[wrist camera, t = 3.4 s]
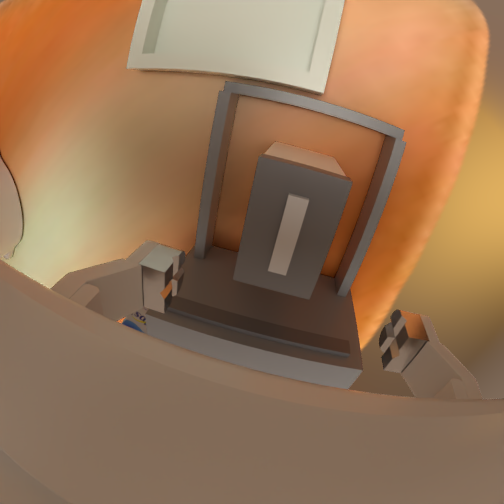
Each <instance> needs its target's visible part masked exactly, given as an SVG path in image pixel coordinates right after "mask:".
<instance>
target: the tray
mask: <svg viewBox="0 0 504 504" xmlns="http://www.w3.org/2000/svg"><path fill="white" fill-rule="evenodd" d="M344 1H345V0H142V4H141V7H140V11H139V14H138V18H137V22H136V26H135V30H134V34H133V38H132V42H131V47H130V52H129V57H128V62H127V67H126V69H133V70H141V71H176V72H192V73H204V74H213V75H222V76H230V77H237V78H243V79H250V80H255V81H261V82H266V83H271V84H276V85H281V86H286V87H290V88H294V89H298V90H303V91H306V92H310V93H314V94H318V95H322V94H323V93H324V90H325V86H326V82H327V77H328V73H329V69H330V65H331V60H332V56H333V52H334V47H335V43H336V38H337V34H338V29H339V25H340V20H341V15H342V11H343V6H344Z"/></svg>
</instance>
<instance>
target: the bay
mask: <svg viewBox="0 0 504 504" xmlns="http://www.w3.org/2000/svg"><path fill="white" fill-rule="evenodd" d="M239 94H240V95H246V96H251V97H257V98H262V99H267V100H271V101H276V102H281V103H285V104H289V105H293V106H297V107H301V108H305V109H309V110H313V111H316V112H320V113H323V114H327V115H330V116H334V117H337V118H340V119H343V120H346V121H349V122H352V123H355V124H358V125H361V126H364V127H367V128H370V129H372V130H375V131H378V132H380V133H383V134H386V136H385V140H384V143H383V147H382V150H381V153H380V157H379V160H378V163H377V166H376V169H375V172H374V175H373V179H372V182H371V184H370V187H369V190H368V193H367V196H366V199H365V202H364V205H363V207H362V210H361V213H360V216H359V218H358V221H357V224H356V226H355V229H354V232H353V234H352V237H351V239H350V242H349V244H348V247H347V249H346V252H345V254H344V257H343V259H342V262H341V264H340V267H339V269H338V271H337V274H336V276H335V278H332V277H329V276H325V275H321V274H320V275H319V277H318V280H317V282H316V285H315V287H314V289H313V292H312V294H311V297H310V299H309V300H308V299H304V298H300V297H297V296H293V295H289V294H285V293H281V292H277V291H273V290H270V289H266V288H262V287H258V286H255V285H251V284H247V283H243V282H240V281H236V280H233V276H234V271H235V266H236V262H237V257H238V252H234V251H231V250H227V249H223V248H219V247H216V246H212V243H213V236H214V230H215V223H216V217H217V211H218V205H219V199H220V193H221V187H222V181H223V175H224V170H225V164H226V159H227V153H228V148H229V143H230V137H231V132H232V127H233V122H234V117H235V112H236V107H237V103H238V98H239ZM404 131H405V130H402V129H400V128H398V127H395V126H393V125H390V124H388V123H385V122H383V121H380V120H378V119H375V118H372V117H370V116H367V115H364V114H361V113H358V112H355V111H352V110H349V109H346V108H343V107H340V106H337V105H333V104H330V103H327V102H323V101H320V100H316V99H312V98H309V97H305V96H301V95H297V94H293V93H288V92H284V91H279V90H275V89H270V88H265V87H259V86H254V85H248V84H242V83H236V82H229V81H226V82H225V86H224V91H219V95H218V100H217V105H216V110H215V116H214V121H213V127H212V132H211V138H210V144H209V150H208V156H207V162H206V168H205V175H204V182H203V189H202V196H201V203H200V210H199V218H198V226H197V234H196V243H195V245H194V247H193V248H192V249H191V251H190V252H189V253H188V255H187V256H186V257H185V262H184V264H183V265H182V266H181V267H182V269H183V270H184V278H183V283H182V286H181V288H180V290H179V292H178V294H177V295H175V296H172V303H171V304H170V306H169V307H168V309H167V310H166V312H165V313H161V312H158V311H155V310H152V309H148V311H147V312H146V314H145V318H146V330H147V335H150V336H152V337H155V338H158V339H160V340H163V341H166V342H168V343H171V344H174V345H177V346H179V347H182V348H185V349H188V350H191V351H194V352H197V353H200V354H203V355H206V356H209V357H213V358H216V359H219V360H222V361H226V362H229V363H233V364H236V365H240V366H243V367H247V368H250V369H254V370H258V371H262V372H266V373H270V374H274V375H278V376H282V377H286V378H291V379H295V380H300V381H304V382H309V383H314V384H319V385H325V386H330V387H336V388H341V389H349V387H350V386H351V385H352V384H353V382H354V381H355V380H356V379H357V377H358V376H359V375H360V374H361V372H362V371H363V366H362V358H361V351H360V344H359V337H358V330H357V324H356V318H355V312H354V307H353V301H352V296H351V290H350V287H351V285H352V283H353V281H354V279H355V276H356V274H357V272H358V270H359V268H360V265H361V263H362V261H363V259H364V256H365V254H366V252H367V250H368V247H369V245H370V243H371V240H372V238H373V235H374V233H375V230H376V228H377V225H378V223H379V220H380V218H381V215H382V213H383V210H384V207H385V205H386V202H387V199H388V197H389V194H390V191H391V188H392V185H393V183H394V180H395V177H396V174H397V171H398V168H399V165H400V162H401V158H402V155H403V152H404V149H405V145H406V142H404V141H402V138H403V134H404Z"/></svg>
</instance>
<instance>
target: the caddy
mask: <svg viewBox="0 0 504 504" xmlns="http://www.w3.org/2000/svg"><path fill="white" fill-rule="evenodd" d="M352 183H353V182H352V181H351V179H350V178H349V177H346V175H345V174H344V172H343V170H342V169H341V167H340V166H339V164H338V163H337V161H336V160H335V158H334V157H331V156H328V155H325V154H321V153H318V152H315V151H311V150H307V149H304V148H300V147H296V146H292V145H289V144H285V143H281V142H276V141H275V142H274V143H273V144H272V145H271V146H270V148H269V149H268V150H267V151H266V152H265V153H264V154H261V155H260V156H259V158H258V163H257V167H256V172H255V176H254V181H253V186H252V190H251V195H250V200H249V204H248V209H247V214H246V218H245V223H244V228H243V233H242V237H241V242H240V247H239V252H238V257H237V262H236V266H235V271H234V276H233V280H236V281H240V282H243V283H247V284H251V285H255V286H258V287H262V288H266V289H270V290H273V291H277V292H281V293H285V294H289V295H293V296H297V297H300V298H304V299H308V300H309V299H310V297H311V294H312V292H313V289H314V287H315V285H316V282H317V280H318V277H319V275H320V272H321V270H322V267H323V264H324V262H325V259H326V257H327V254H328V251H329V249H330V246H331V243H332V241H333V238H334V235H335V233H336V230H337V227H338V224H339V221H340V219H341V216H342V213H343V210H344V207H345V204H346V201H347V198H348V195H349V192H350V189H351V186H352Z"/></svg>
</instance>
